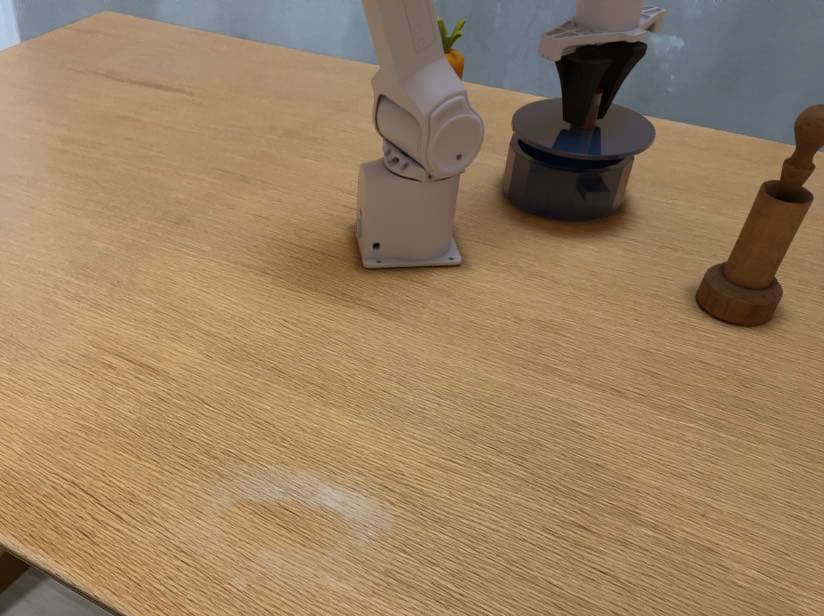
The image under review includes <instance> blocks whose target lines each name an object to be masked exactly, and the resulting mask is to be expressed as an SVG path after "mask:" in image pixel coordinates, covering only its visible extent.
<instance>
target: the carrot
mask: <svg viewBox="0 0 824 616" xmlns="http://www.w3.org/2000/svg"><path fill="white" fill-rule="evenodd" d="M436 17H437V16H436ZM437 22H438V26H439V31H440V35H441V40H442V45H443V49H444V54H445V58H446V59H447V61H448V63H449V64H450V66H451V67H452V68H453V70H454V71H455V73H456V74H457V76H458V77H459V78H460V80H461V81H462V82H463V75H464V69H465V58H464V56H463V55H462V54H461V53H460V51H459V52H458V51H457V50H456V49H455V48H452V47H453V45H454V43H455V42H456V41H457V40H458V39H459V38H461V37H464V32H463V31H462V29H463V28H464V26H465V24H466V23H467V20H465V19H464V18H460V19H458V21H457V23H456V24H455V26H454V28H453V30H452V32H451V35H450V34H448V31H447V27H446V24H445V22H444V19H443V18H442V19H440V17H439V16H438V17H437Z"/></svg>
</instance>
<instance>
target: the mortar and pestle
mask: <svg viewBox="0 0 824 616" xmlns="http://www.w3.org/2000/svg"><path fill="white" fill-rule="evenodd" d="M793 134H794V141H795V149H794V151H793V153H792V154H791V156H790V157H786V158H785V159H784V160H783V163H782V166H781V171H780V178H779V179H770V180H765V181H763V182H762V183H761V185H760V186H759V189H758V191H757V194H756V195H755V196H756V197H755V198H754V201H753V204H752V206H751V208H750V210H749V212H748V215H747V217H746V219H745V221H744V224H743V226H742V228H741V230H740V232H739V234H738V237H737V239H736V241H735V243H734V245H733V248H732V250H731V251H730V254H729V256H728V257H727V261H723V262H721V263H716V264H714V265H712V266H710V267H708V269H706V271H705V272H704V275H703V277H702V280H701V281H700V284H699V286H698V289H697V291H696V298H697V299H696V300H697V301H698V303H699V304H700V306H701V307H702V308H703V309H704V310H705V311H707V312H708V313H709V314H711V315H712V316H714V317H716V318H718V319H719V320H723V321H726V322H729V323H732V324H736V325H737V324H738V325H743V326H758V325H762V324H764V323H767V322H768V321H770V319H771V318H773V315H774V314H775V312H776V310H777V308H778V306H779V304H780V302H781V300H782V298H783V296H784V289H783V287H782V285H781V283H780V282H779V281H778V278H777V277H776V274H777V272H778V270H779V268H780V266H781V264H782V262H783V259H785V257H786V254H787V252H788V250H789V248H790V246H791V244H792V242H793V241H794V239H795V236H796V234H797V233H798V230H799V229H800V227H801V226H802V225H801V224H802V223H803V221H804V219H805V217H806V215H807V213H808V211H809V210H810V208H811V206H812V204H813V202H814V200H815V197H814V194H813V193H812V192H811V190H809V189H808V188H806V187H804V184H805V183H806V182H807V181H808V179H809V178H810V177H811V176H812V175H813V173H814V172H815V170H816V167H817V166H816V164H815V163H814V162H813V160H814V156H815V155H816V153H817V152H818V151H819V150H820V149H822V148H823V147H824V104H823V103H818V104H817V103H816V104H813V105H811V106H808V107H806V108H805V109H804V110H802V111H801V112H800V113H799V115H798V116H797V117H796V118H795V121H794V124H793Z"/></svg>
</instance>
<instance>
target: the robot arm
mask: <svg viewBox="0 0 824 616" xmlns="http://www.w3.org/2000/svg"><path fill="white" fill-rule="evenodd" d="M360 2H361V6H362V9H363V13H364V16H365V20H366V23H367V27H368V30H369V34H370V37H371V40H372V44H373V48H374V51H375V54H376V58H377V62H378V66H379V69H378V70H377V71H376V72H375V74H374V75H373V76H372V78H371V79H370V84H371V87H372V91H373V105H372V110H371V121H372V125H373V128H374V130H375V132H376V134H378V136H379V137H381V138H382V149H381V151H382V152H383V156H382V157H380V158H378V159H375V160H371V161H365V162H361V163H360V164H359V170H358V177H357V193H356V196H357V197H356V210H355V211H356V213H355V214H356V215H355V220H354V221H355V222H354V231H355V237H356V240H357V245H358V248H359V249H358V250H359V254H360V257H361V261H362V266H363V267H364V268H366V269H381V268H405V267H406V268H407V267H431V266H457V265H460V264H461V263H462V257H461V254H460V252H459V249H458V247H457V244H456V242H455V239H454V237H453V230H454V223H455V215H456V209H457V202H458V195H459V187H460V181H461V175H463V174H464V173H466V169H467V168H468V167H469V166H470V165H471V164H472V163H473V162H474V160H475V159H476V158H477V156H478V154H479V152H480V150H481V148H482V146H483V143H484V139H485V131H486V130H485V122H484V119H483V117H482V116H481V114H480V113H479V112H478V110H476V109H475V108H474V107H473V106H472V104H471V102H470V99H469V94H468V90H467V88H466V86H465V84H464V83H463V80H462V81H461V80H460V78H459V77H458V76H457V74H456V73H455V71H454V70H453V68H452V67H451V66H450V64H449V63H448V61H447V59H446V58H445V54H444V49H443V45H442V40H441V35H440V31H439V26H438V22H437V13H436V12H437V11H436V9H435V8H436V7H435V4H434V3H435V2H434V0H360ZM645 2H646V0H576V6H575V10H574V15H573V16H572V17H570V18H568V19H567V20H566V21H564V22H562V23H561V24H559V25H557V26H556V27H555V28H553V29H551V30H549V31H547V32H544V33H543V32H542V33H541V34H540V39H539V43H538V50H537V54H536V55H537V57H539V58H541V59H545V60H547V61H549V62H552V63H554V65H555V67H556V70H557V74H558V78H559V84H560V92H561V98H562V110H563V121H565V122H567V123H570V124H572V125H574V126H576V127H579V126H582V125H583V124H584V122H585V120H586V118H587V115H588V112H589V109H590V106H591V103H592V99H593V96H594V93H595V91H596V89H597V86H598V87H600V88H602V89H603V91H604V92H603V96H602V100H601V105H600V109H599V113H598V117H597V119H599V120H600V119H603V118H604V116H605V115H606V113H607V111H608V109H609V107H610V105H611V103H613V102H614V100H615V98H616V97H617V94H618V92H619V90H620V89H621V87H622V85H623V83H624V82H625V80H626V79H627V77H628V76H629V75H630V73H631V72H632V71H633V69H634V68H635V67H636V65H637V64H638V63H639V62H640V61H641V60H642V59H643V58H644V57H645V56H646V52H647V50H648V44H647V43H645V42H644V41H643V40H645V39H646V36H647V32H650V33H653V34H654V33H655V34H656V33H659V32H661V31H662V28H663V24H664V21H665V18H666V13H667V9H665V8H662V7H658V6H654V5H652V4H649V5H648V4H647V5H645Z"/></svg>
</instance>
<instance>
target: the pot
mask: <svg viewBox="0 0 824 616" xmlns="http://www.w3.org/2000/svg"><path fill="white" fill-rule="evenodd" d="M635 157H636V155H634V156H631V157H626V158H621V159H613V160H584V159H575V158H569V157H563V156H559V155H555V154H551V153H548V152H545V151H542V150H539V149H537V148H534V147H532V146H530V145H528V144H527V143H525V142H524V141H522V140H521V139H519V138H518V137H517V136H516V135H515V133H514V132H512V135H511V137H510V141H509V144H508V150H507V156H506V161H505V167H504V172H503V178H502V182H501V183H502V184H501V186H502V192H503V195H504V196H505V197H506V199H507V200H508V201H509V202H510V203H511V204H513V205H514V206H516V207H517V208H518V209H520V210H523V211H525V212H527V213H529V214H532V215H535V216H538V217H542V218H545V219H549V220H550V219H551V220H558V221H566V222H583V221H593V220H598V219H601V218H604V217H608V216H609V215H612V214H613V213H614V212H615V211H617V210H618V209H619V208H620V206H621V204H622V202H623V201H624V197H625V193H626V189H627V186H628V183H629V180H630V175H631V172H632V168H633V165H634V161H635Z"/></svg>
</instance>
